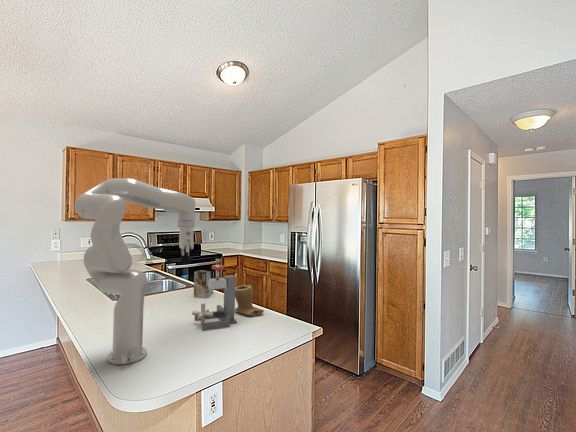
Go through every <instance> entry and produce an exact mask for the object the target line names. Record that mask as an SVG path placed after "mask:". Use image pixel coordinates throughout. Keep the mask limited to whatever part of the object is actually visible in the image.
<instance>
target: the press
mask: <svg viewBox="0 0 576 432" xmlns="http://www.w3.org/2000/svg"><path fill="white" fill-rule="evenodd" d="M224 279H226V288H223V306H222V305H220V304H217V305H216V310H214V311H211V312H212V313H214V315H213V317H211V316H205V320H211V319H217V320H214V321H207V322H205V323H202V325H201V331H202V332H206V331H212V330H218V329H224V328H225V329H226V328H229V327H230V326H231V325H235V324H237V323H238V320H236V318H235V313H236V311H235V309H236V307H235V306H236V298H235V288H236V281H237V280H236V276H235V275H233V274H231V275H224ZM197 316H198V315H194V321H196V322H197V321H201V318H200V319H197V318H196V317H197Z"/></svg>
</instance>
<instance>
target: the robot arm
mask: <svg viewBox="0 0 576 432" xmlns="http://www.w3.org/2000/svg"><path fill="white" fill-rule="evenodd" d="M126 202H127V203H131V204H135V205H139V206H142V207H145V208H149V209H156V210H163V211H164V212H166V213H167V214H169V213H170V214H177V228H179V231H178V232H179V234H178V235H179V236H178V237H179V238H178V247H179V249H180V250H181V253H180V254H181V257H180V264H181V265H182V266H183V265H185V266H186V265H189V264H190V250H193V249H194V241H195V240H194V228H195V224H196V223H195V222H196V220H195V219H196V199H195V198H193V197H192V196H190V195H188V194H186V193H182V192H179V191H175V190H172V189H171V190H170V189H166V188H164V187H163V188H162V187H159V186H154V185H152V184H148V183H146V182H144V181H141V180H139V179H135V178H129V177H128V178H127V177H125V178H124V177H123V178H122V177H120V178H118V177H117V178H116V177H115V178H109V179H106V180H104V181H102V182H100V183H99V184H97V185H96V186H94V187H92V188H90V189H89V190H87V191H85V192H84V193H82V194H81V195H79V197H77V198H76V200H75V202H74V211H75V213H76V214H77V216H79V217H80V218H82V219H85V220H95V221H94V223H93V225H92V228H91V231H90V235H89V236H90V241H91V243H92V245H91V246H89V247H88V248H87V249H86V250H85V252H84V254H83V265H84V267H85V270H86V271H87V273H88V274H89V276H90V278H91V279H92V281H93V282H94V284H95V285H96V287H97V288H98V289H99V291H101V292H102V293H105V294H109V295H117V296H119V298H118V299H117V301H116V303H115V305H114V308H113V326H112V327H113V329H112V333H113V334H112V351H111V352H110V353H109V354H108V355H107V362H108V363H110V364H111V365H116V366H117V365H120V366H121V365H122V366H123V365H129V364H134V363H136V362H139V361H140V360H142V359H144V358H145V357H146V356H147V355H148V352H147V349H146V347H143V337H144V335H143V334H144V333H143V331H144V306H145V305H144V303H145V295H146V291H147V287H148V277H147V275H146V273H144V272H143V271H142V270H139V269H134V268H131V267H132V265H133V257H132V255H131V252H130V251H129V248H128V246H127V245H126V243H125V241H124V238H123V237H122V234H121V231H120V227H121V226H120V225H121V222H122V220H123V217H124V216H125V213H126V210H127V209H126V207H127V204H126Z"/></svg>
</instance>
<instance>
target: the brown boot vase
mask: <svg viewBox="0 0 576 432" xmlns="http://www.w3.org/2000/svg"><path fill="white" fill-rule="evenodd" d="M253 298H254V288H253V287H252V285H251V284H248V285H245V284H243V285H239V286H235V302H236V303H237V307H235V313H238V314H242V315H245V316H249V317H258V316H260V315H262V314H264V312H265V310H264V309H261V308H257V307H256V306H253Z"/></svg>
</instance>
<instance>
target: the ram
mask: <svg viewBox="0 0 576 432" xmlns="http://www.w3.org/2000/svg"><path fill="white" fill-rule="evenodd" d="M224 267H225V266H224V264H213V265H211V270H212V271H213V270H214V271H215V272H216V273H215V278H211V279H209V280H208V287H209V288H210V294H211V295H212V294H214V290H216V289H217V290H219V289H224V288H226V279H225V277H220V271H222V270H224V269H225V268H224Z"/></svg>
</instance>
